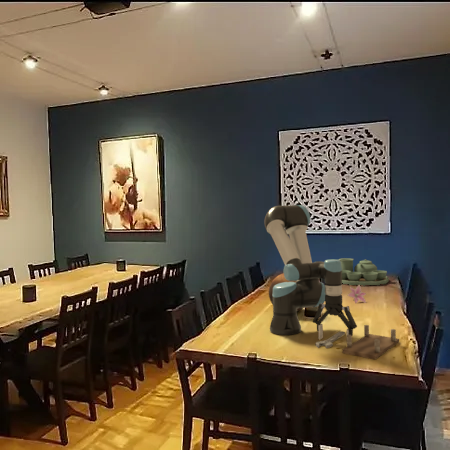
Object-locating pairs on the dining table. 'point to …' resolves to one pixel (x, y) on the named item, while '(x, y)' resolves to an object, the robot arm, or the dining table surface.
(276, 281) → the pottery
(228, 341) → the dining table surface
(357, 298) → the lily
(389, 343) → the rack
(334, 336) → the adjustable wrench
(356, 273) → the tea set
